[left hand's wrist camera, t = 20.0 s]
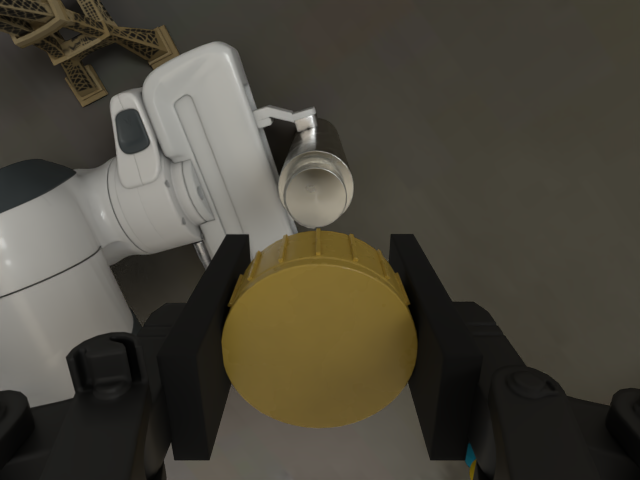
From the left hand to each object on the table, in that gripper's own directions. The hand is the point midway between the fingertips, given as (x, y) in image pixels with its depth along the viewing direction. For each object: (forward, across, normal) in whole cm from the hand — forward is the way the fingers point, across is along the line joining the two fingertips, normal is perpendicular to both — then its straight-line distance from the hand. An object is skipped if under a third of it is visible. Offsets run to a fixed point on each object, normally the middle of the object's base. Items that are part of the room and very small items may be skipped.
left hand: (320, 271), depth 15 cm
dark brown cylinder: (+29, 0, 0) cm, 29 cm away
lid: (-4, 0, 0) cm, 4 cm away
